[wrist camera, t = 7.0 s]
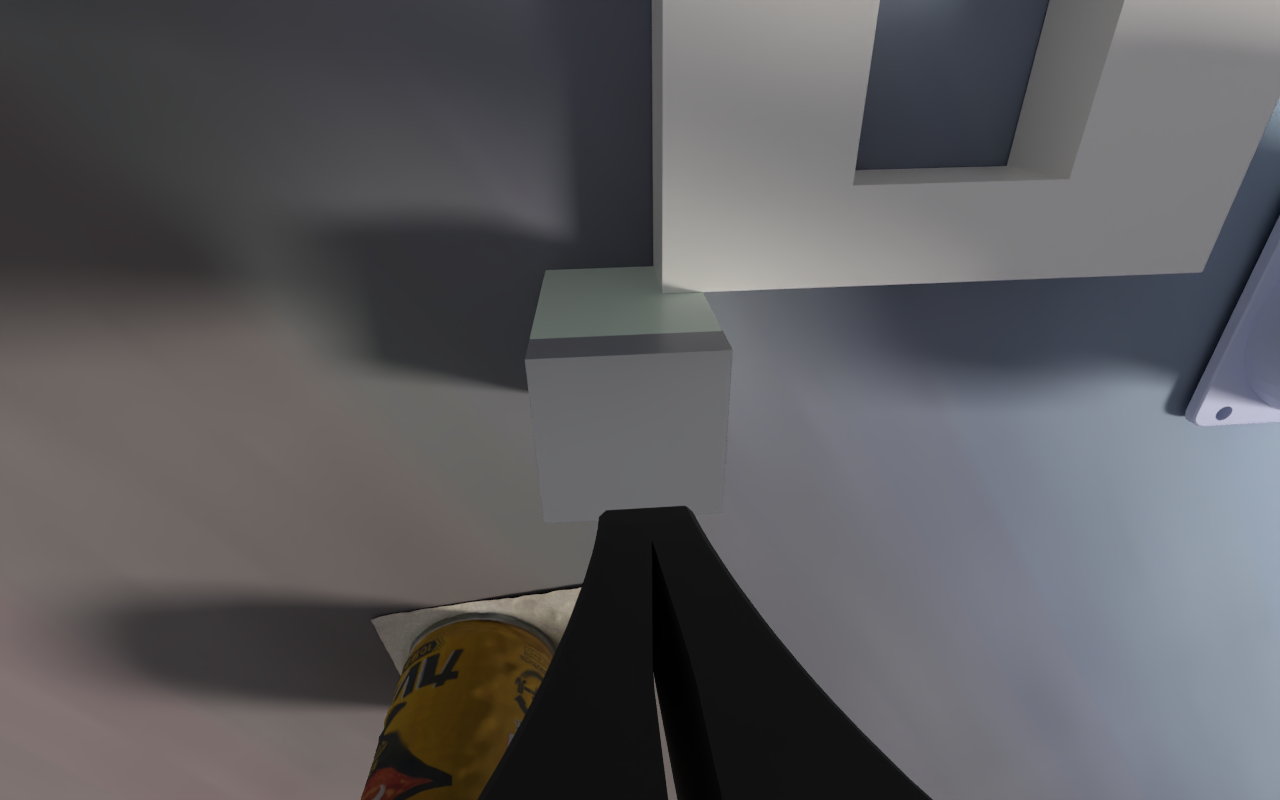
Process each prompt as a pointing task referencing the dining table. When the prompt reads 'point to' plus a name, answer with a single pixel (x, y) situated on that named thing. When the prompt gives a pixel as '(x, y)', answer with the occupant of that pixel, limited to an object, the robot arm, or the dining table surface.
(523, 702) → the yellow metal cylinder
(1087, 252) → the socket
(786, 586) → the dining table surface
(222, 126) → the dining table surface
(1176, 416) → the dining table surface
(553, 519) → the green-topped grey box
